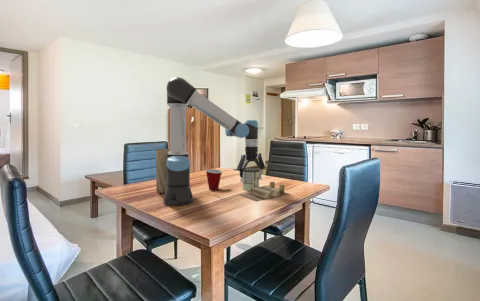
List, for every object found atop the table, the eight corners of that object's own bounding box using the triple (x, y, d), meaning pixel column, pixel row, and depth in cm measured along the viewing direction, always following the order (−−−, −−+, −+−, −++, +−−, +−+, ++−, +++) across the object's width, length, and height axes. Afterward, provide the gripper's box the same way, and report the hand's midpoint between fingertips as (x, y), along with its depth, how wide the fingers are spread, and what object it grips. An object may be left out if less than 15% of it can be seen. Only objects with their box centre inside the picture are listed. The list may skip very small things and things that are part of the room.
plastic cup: (221, 191, 166) (221, 171, 164) (204, 190, 166) (204, 171, 164) (223, 187, 176) (223, 168, 175) (206, 186, 177) (206, 168, 175)
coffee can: (242, 189, 171) (243, 167, 170) (259, 189, 170) (259, 167, 169) (241, 193, 161) (241, 170, 160) (258, 194, 160) (259, 170, 159)
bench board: (256, 204, 140) (256, 192, 139) (238, 197, 153) (238, 186, 152) (290, 196, 156) (291, 185, 155) (271, 190, 168) (271, 180, 168)
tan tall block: (163, 193, 158) (163, 150, 155) (153, 190, 164) (152, 149, 161) (176, 190, 166) (176, 149, 163) (166, 187, 172) (166, 148, 169)
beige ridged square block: (264, 198, 146) (264, 192, 146) (250, 193, 156) (250, 188, 155) (280, 195, 153) (280, 189, 153) (265, 190, 163) (266, 185, 163)
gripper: (238, 147, 153) (238, 184, 155) (270, 145, 168) (270, 179, 170) (230, 146, 158) (231, 182, 161) (262, 144, 173) (262, 177, 176)
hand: (251, 180), depth 165 cm, fingers open, 13 cm apart
